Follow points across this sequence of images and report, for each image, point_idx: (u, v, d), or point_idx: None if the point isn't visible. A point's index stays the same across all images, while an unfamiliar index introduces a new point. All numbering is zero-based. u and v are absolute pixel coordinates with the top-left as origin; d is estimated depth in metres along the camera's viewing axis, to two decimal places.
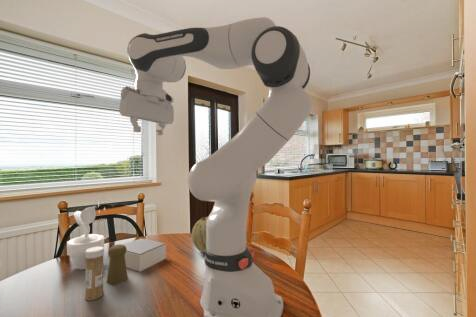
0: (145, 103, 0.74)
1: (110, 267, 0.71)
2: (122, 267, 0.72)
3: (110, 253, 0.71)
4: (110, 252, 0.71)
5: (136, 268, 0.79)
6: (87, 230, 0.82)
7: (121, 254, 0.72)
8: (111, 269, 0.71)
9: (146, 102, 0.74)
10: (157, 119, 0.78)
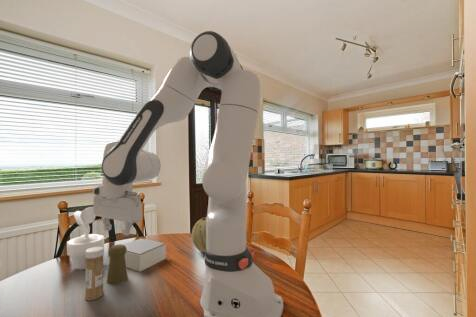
0: None
1: (110, 267, 0.71)
2: (122, 267, 0.72)
3: (110, 253, 0.71)
4: (110, 252, 0.71)
5: (136, 268, 0.79)
6: (87, 230, 0.82)
7: (121, 254, 0.72)
8: (111, 269, 0.71)
9: None
10: None
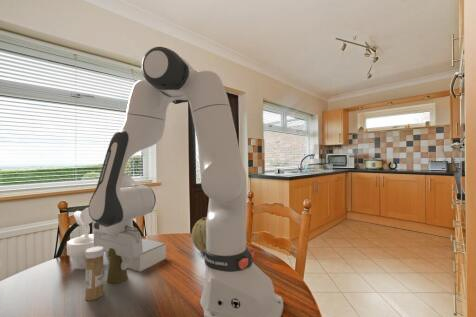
0: None
1: (110, 267, 0.71)
2: None
3: (110, 253, 0.71)
4: (110, 252, 0.71)
5: (136, 268, 0.79)
6: (87, 230, 0.82)
7: None
8: (111, 269, 0.71)
9: None
10: None
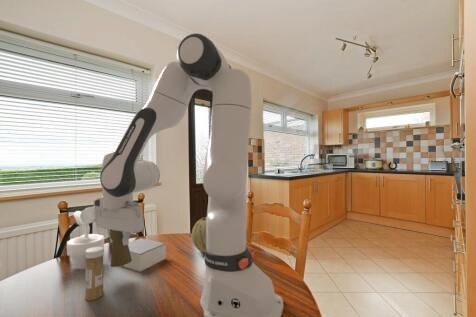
0: None
1: (113, 250, 0.71)
2: (125, 249, 0.71)
3: (111, 235, 0.71)
4: (111, 234, 0.71)
5: (136, 268, 0.79)
6: (87, 230, 0.82)
7: (122, 236, 0.71)
8: (114, 251, 0.70)
9: None
10: None
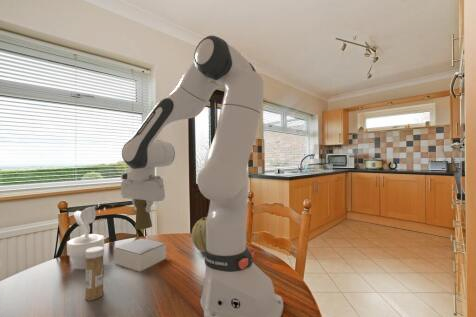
0: None
1: (137, 215, 0.84)
2: (147, 215, 0.85)
3: (136, 203, 0.84)
4: (136, 202, 0.84)
5: (136, 268, 0.79)
6: (87, 230, 0.82)
7: (145, 204, 0.85)
8: (138, 216, 0.84)
9: None
10: None
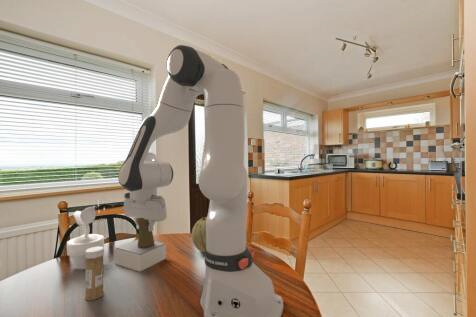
0: None
1: (140, 233, 0.85)
2: (150, 234, 0.86)
3: (139, 221, 0.85)
4: (139, 221, 0.85)
5: (136, 268, 0.79)
6: (87, 230, 0.82)
7: (148, 222, 0.86)
8: (141, 235, 0.85)
9: None
10: None
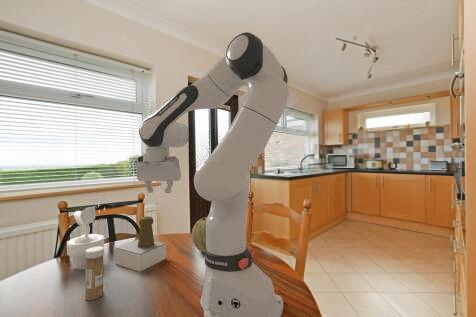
0: None
1: (140, 234, 0.85)
2: (150, 235, 0.86)
3: (140, 222, 0.85)
4: (140, 221, 0.85)
5: (136, 268, 0.79)
6: (87, 230, 0.82)
7: (149, 223, 0.85)
8: (142, 235, 0.84)
9: None
10: None
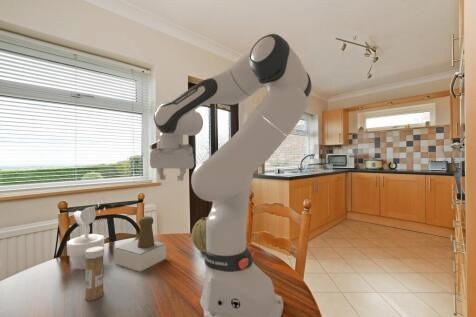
0: None
1: (140, 234, 0.85)
2: (150, 235, 0.86)
3: (140, 222, 0.85)
4: (140, 221, 0.85)
5: (136, 268, 0.79)
6: (87, 230, 0.82)
7: (149, 223, 0.85)
8: (142, 235, 0.84)
9: None
10: None
